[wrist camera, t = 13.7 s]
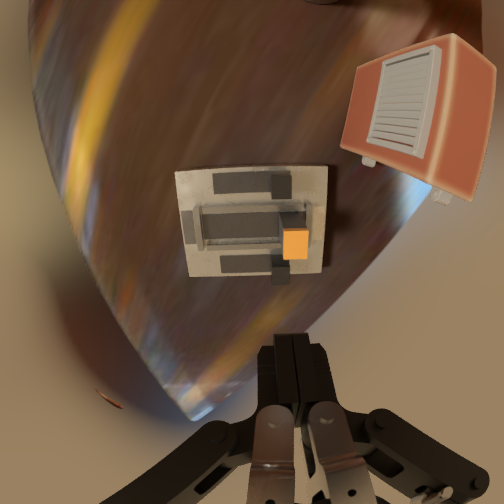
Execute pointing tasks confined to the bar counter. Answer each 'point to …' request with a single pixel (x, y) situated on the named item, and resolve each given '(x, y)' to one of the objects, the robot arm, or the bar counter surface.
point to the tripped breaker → (293, 236)
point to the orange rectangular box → (425, 114)
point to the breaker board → (250, 218)
